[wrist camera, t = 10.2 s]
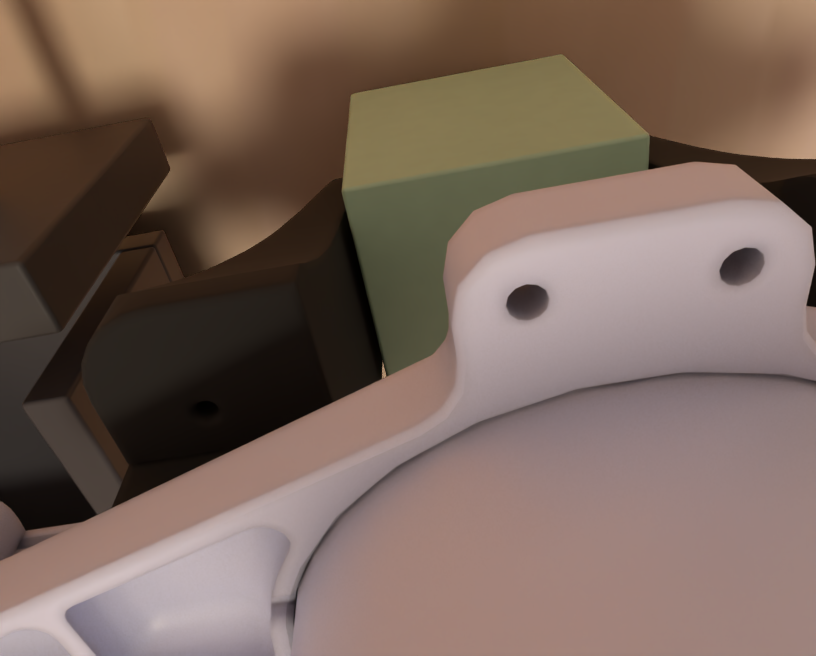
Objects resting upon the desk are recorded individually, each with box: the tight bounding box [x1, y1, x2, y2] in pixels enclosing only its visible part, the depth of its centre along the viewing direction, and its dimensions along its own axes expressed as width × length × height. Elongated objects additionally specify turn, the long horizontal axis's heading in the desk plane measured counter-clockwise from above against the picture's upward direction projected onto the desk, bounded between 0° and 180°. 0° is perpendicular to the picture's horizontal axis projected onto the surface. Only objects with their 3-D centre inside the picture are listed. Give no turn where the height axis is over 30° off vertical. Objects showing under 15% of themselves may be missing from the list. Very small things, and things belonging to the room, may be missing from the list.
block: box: [342, 54, 650, 376], centre depth 12 cm, size 4×4×5 cm
